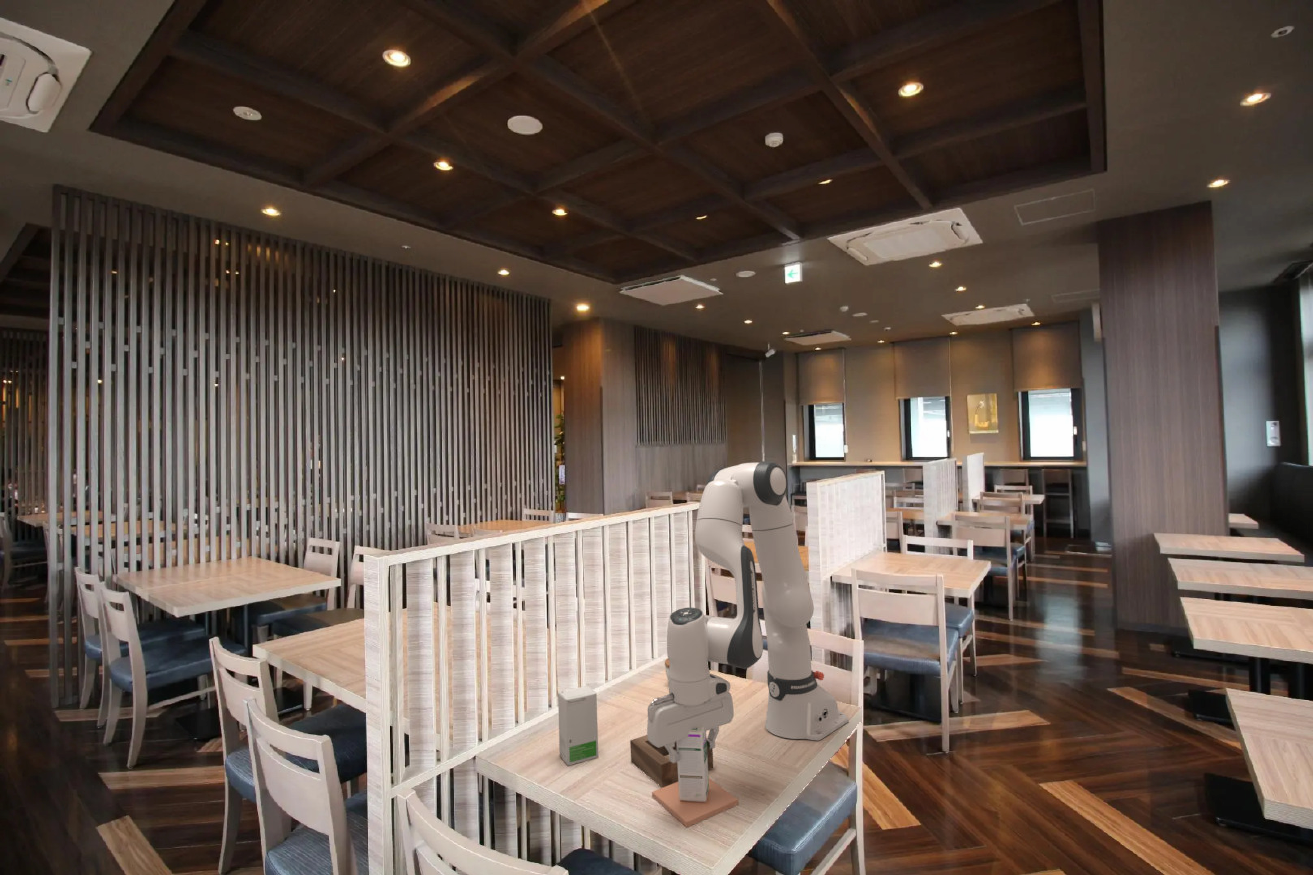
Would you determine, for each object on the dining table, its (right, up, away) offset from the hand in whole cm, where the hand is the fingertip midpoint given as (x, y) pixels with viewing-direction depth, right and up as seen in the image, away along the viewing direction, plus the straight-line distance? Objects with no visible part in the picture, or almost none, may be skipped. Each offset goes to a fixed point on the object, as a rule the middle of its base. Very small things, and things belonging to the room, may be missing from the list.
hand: (692, 754), depth 127 cm
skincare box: (-27, -12, +21) cm, 36 cm away
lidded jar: (+1, -11, +62) cm, 63 cm away
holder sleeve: (-4, -10, +15) cm, 18 cm away
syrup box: (0, -9, 0) cm, 9 cm away
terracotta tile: (0, -10, 0) cm, 10 cm away
